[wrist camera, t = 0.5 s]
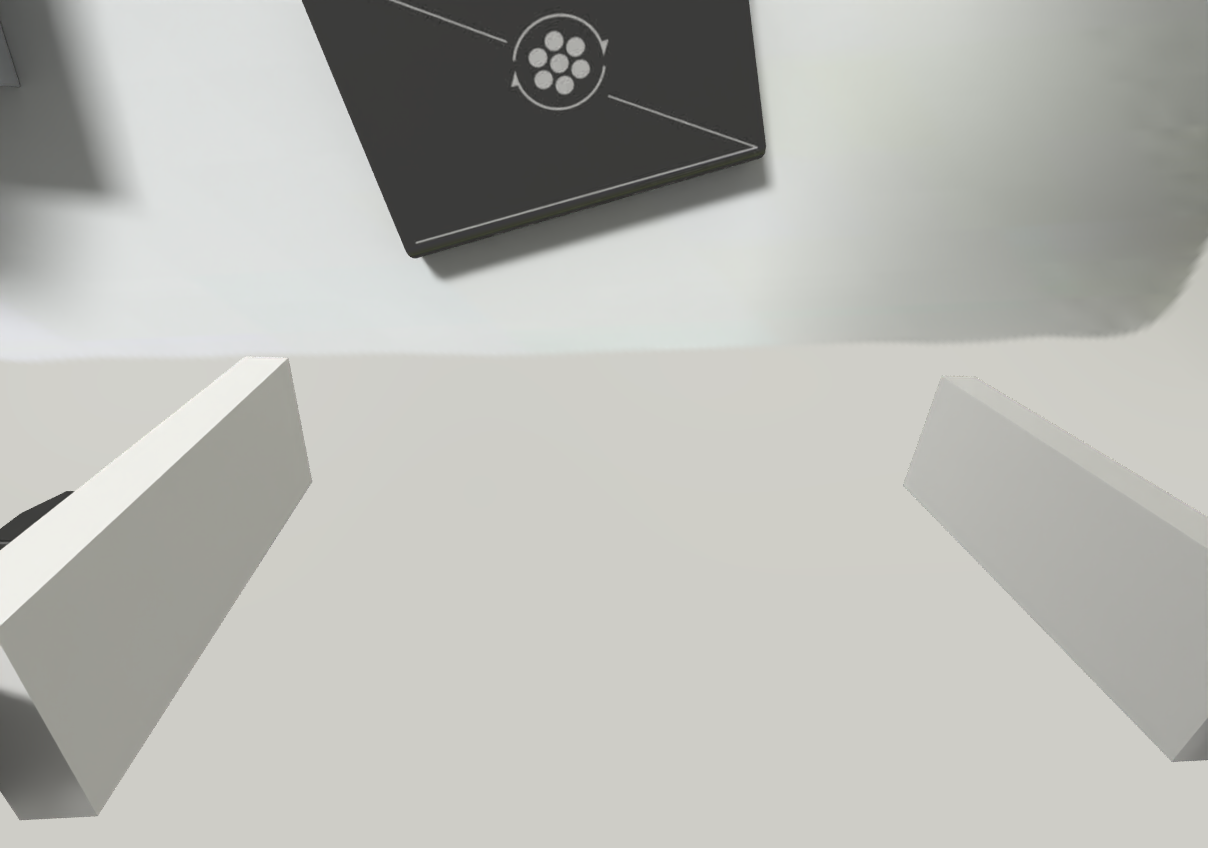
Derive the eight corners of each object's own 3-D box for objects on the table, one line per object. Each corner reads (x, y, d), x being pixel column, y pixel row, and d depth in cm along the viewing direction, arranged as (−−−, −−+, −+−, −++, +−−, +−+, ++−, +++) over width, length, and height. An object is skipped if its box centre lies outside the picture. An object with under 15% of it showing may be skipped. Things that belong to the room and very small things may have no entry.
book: (419, 253, 37) (410, 263, 35) (306, -28, 30) (283, -43, 28) (752, 156, 36) (768, 159, 34) (711, -157, 30) (727, -184, 27)
